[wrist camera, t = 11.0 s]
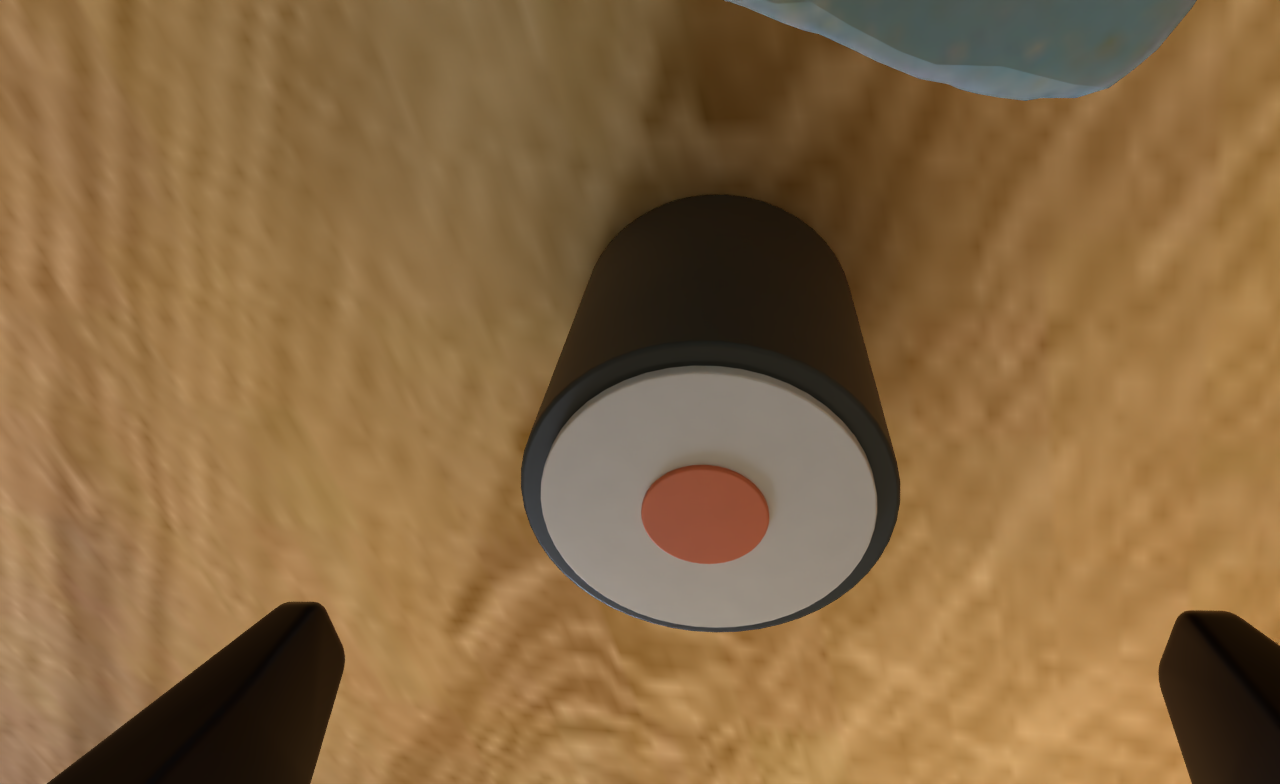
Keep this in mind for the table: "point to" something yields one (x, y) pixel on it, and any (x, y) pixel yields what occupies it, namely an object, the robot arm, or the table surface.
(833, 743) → the table surface
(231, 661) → the robot arm
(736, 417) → the sushi
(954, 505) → the table surface
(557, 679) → the table surface
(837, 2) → the flower pot
